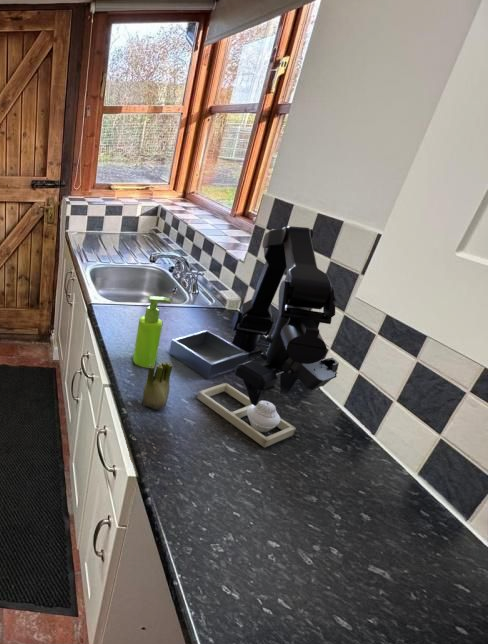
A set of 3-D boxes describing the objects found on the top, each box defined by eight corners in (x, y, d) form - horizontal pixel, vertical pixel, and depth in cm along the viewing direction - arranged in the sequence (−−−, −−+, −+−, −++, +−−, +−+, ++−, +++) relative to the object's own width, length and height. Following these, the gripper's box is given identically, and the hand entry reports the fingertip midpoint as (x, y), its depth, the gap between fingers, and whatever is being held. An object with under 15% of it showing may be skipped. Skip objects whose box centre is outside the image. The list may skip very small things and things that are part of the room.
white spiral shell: (282, 432, 89) (291, 407, 86) (262, 440, 86) (272, 415, 83) (255, 414, 94) (263, 390, 91) (236, 422, 92) (244, 397, 89)
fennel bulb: (141, 409, 96) (148, 367, 91) (140, 396, 100) (148, 355, 95) (167, 414, 95) (176, 371, 89) (165, 400, 99) (174, 359, 94)
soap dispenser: (160, 369, 111) (173, 303, 102) (134, 366, 112) (144, 301, 103) (157, 357, 116) (168, 294, 107) (131, 354, 117) (141, 292, 109)
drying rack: (223, 388, 102) (225, 382, 102) (293, 435, 88) (296, 428, 87) (197, 398, 99) (198, 391, 99) (264, 447, 85) (267, 440, 84)
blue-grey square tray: (203, 343, 122) (207, 329, 120) (244, 367, 111) (249, 352, 109) (169, 353, 118) (171, 339, 116) (208, 379, 106) (211, 364, 104)
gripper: (300, 369, 70) (275, 437, 77) (366, 346, 76) (337, 410, 83) (242, 339, 80) (224, 401, 86) (305, 320, 86) (284, 380, 92)
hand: (268, 398), depth 87 cm, fingers open, 9 cm apart
